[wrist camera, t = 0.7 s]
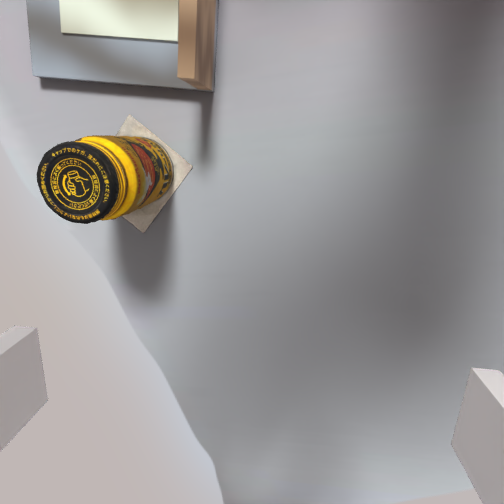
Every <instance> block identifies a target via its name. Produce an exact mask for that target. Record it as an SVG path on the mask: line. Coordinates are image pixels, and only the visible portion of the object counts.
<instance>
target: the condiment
mask: <svg viewBox="0 0 504 504" xmlns="http://www.w3.org/2000/svg"><path fill="white" fill-rule="evenodd" d="M192 167H193V166H192V165H190V164H189V163H188V162H187V161H186V160H184V159H183V158H182V157H181V156H180V155H178V154H177V153H176V152H175V151H174V150H173V149H171V148H170V147H169V146H168V145H167V144H165V143H164V142H163V141H162V140H160V139H159V138H158V137H157V136H156V135H154V134H153V133H152V132H151V131H149V130H148V129H147V128H146V127H145V126H143V125H142V124H141V123H139V122H138V121H137V120H136V119H135V118H133V117H132V116H131V115H130V114H129V116H128V117H127V119H126V120H125V122H124V124H123V125H122V127H121V128H120V130H119V132H118V133H117V134H116V136H87V137H83V138H80V139H78V140H75V141H71V142H64V143H61V144H58V145H56V146H55V147H53V148H52V149H50V150H49V151H47V152H46V153H45V154H44V156H43V158H42V160H41V162H40V164H39V166H38V171H37V182H38V186H39V188H40V191H41V194H42V196H43V198H44V200H45V202H46V204H47V205H48V206H49V207H50V208H51V209H52V210H53V211H54V212H55V213H56V214H58V215H59V216H60V217H62V218H63V219H65V220H68V221H70V222H74V223H84V224H88V223H91V222H96V221H98V220H110V219H116V218H118V217H120V216H122V217H123V218H125V219H126V220H127V221H129V222H130V223H131V224H133V225H134V226H135V227H136V228H137V229H139V230H140V231H141V232H142V233H144V232H145V231H146V229H147V228H148V227H149V225H150V224H151V223H152V221H153V220H154V218H155V217H156V216H157V214H158V213H159V212H160V210H161V209H162V208H163V206H164V205H165V204H166V202H167V201H168V200H169V198H170V197H171V196H172V194H173V193H174V192H175V190H176V189H177V188H178V186H179V185H180V184H181V182H182V181H183V179H184V178H185V177H186V175H187V174H188V173H189V171H190V170H191V168H192Z"/></svg>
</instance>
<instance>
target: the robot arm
mask: <svg viewBox="0 0 504 504" xmlns="http://www.w3.org/2000/svg"><path fill="white" fill-rule="evenodd" d="M47 401H48V398H47V391H46V384H45V377H44V371H43V364H42V358H41V351H40V344H39V338H38V331H37V328H33V327H23V326H13V327H11V328H10V329H8V330H7V331H5V332H4V333H3V334H1V335H0V452H1V450H3V448H4V447H5V446H6V445H7V444H8V443H9V442H10V441H11V440H12V439H13V438H14V437H15V436H16V434H17V433H18V432H19V431H20V430H21V429H22V428H23V427H24V426H25V425H26V424H27V422H28V421H29V420H30V419H31V418H32V417H33V416H34V415H35V414H36V413H37V412H38V411H39V409H40V408H41V407H42V406H43V405H44V404H45V403H46V402H47ZM451 445H452V447H453V449H454V451H455V452H456V454H457V456H458V458H459V460H460V462H461V464H462V465H463V467H464V469H465V471H466V473H467V475H468V477H469V479H470V480H471V482H472V484H473V486H474V488H475V490H476V492H477V493H478V495H479V497H480V499H481V501H482V503H483V504H504V375H503V374H502V373H501V372H500V371H499V370H491V369H480V368H471V370H470V374H469V378H468V381H467V385H466V389H465V393H464V397H463V400H462V404H461V408H460V412H459V416H458V419H457V423H456V427H455V431H454V435H453V438H452V442H451Z"/></svg>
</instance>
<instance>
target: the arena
mask: <svg viewBox="0 0 504 504" xmlns="http://www.w3.org/2000/svg"><path fill="white" fill-rule="evenodd" d="M26 3H27V15H28V26H29V38H30V49H31V61H32V73H33V76H37V77H41V78H53V79H65V80H77V81H89V82H101V83H113V84H125V85H137V86H149V87H161V88H173V89H185V90H197V91H209V92H214V82H215V62H216V43H217V23H218V4H219V0H26Z"/></svg>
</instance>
